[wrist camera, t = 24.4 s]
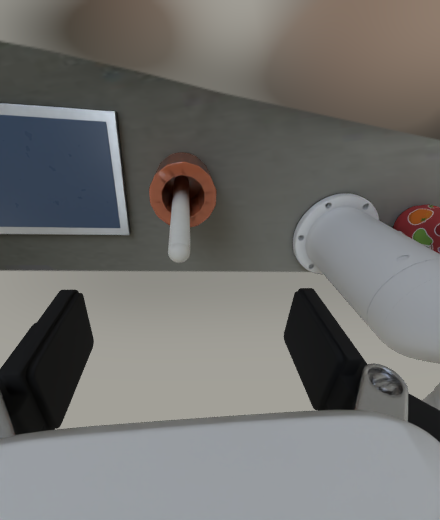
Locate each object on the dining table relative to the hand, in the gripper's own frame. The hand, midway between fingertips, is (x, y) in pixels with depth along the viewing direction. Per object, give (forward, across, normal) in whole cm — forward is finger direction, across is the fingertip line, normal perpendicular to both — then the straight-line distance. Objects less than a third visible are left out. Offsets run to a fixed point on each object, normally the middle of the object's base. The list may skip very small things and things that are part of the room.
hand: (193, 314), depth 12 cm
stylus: (+23, +1, -1) cm, 23 cm away
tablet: (+24, +18, 0) cm, 29 cm away
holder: (+24, +1, -1) cm, 24 cm away
